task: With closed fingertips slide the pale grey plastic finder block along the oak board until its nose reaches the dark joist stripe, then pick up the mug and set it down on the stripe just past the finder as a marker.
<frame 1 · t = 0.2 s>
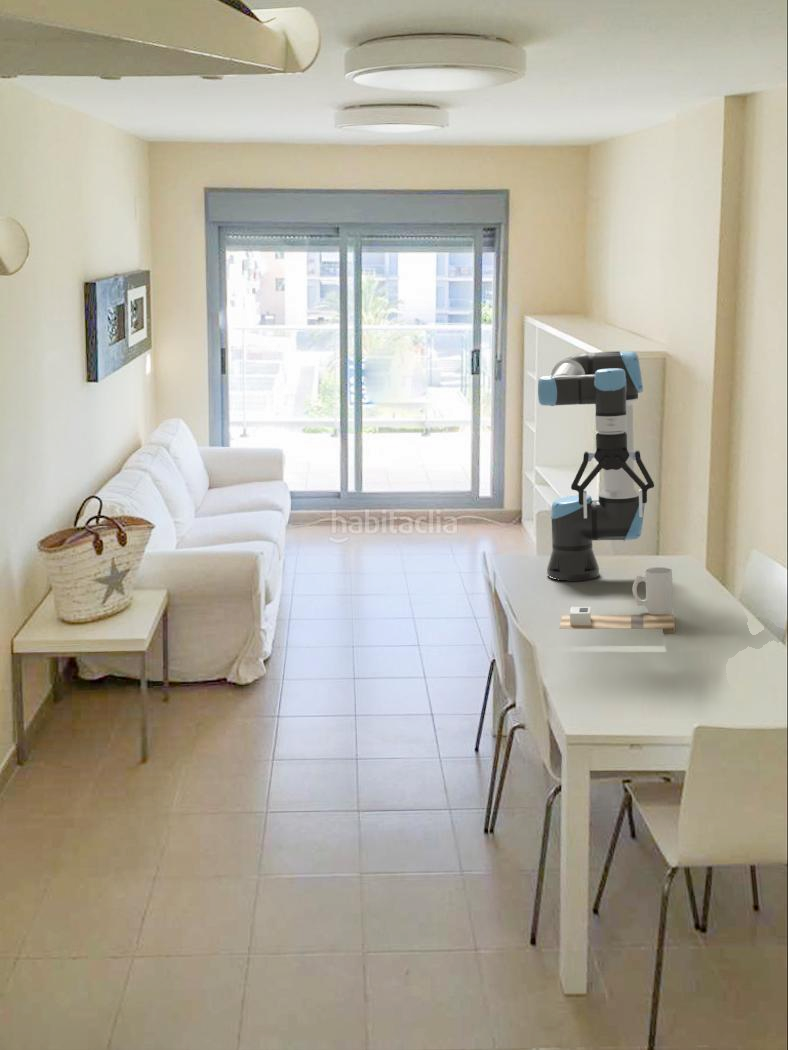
hand: (613, 516, 312), 28 cm above the table, fingers open, 13 cm apart
board: (617, 626, 315), on the table
mug: (652, 616, 322), on the table
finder: (580, 621, 316), point 1 cm above the table, touching board
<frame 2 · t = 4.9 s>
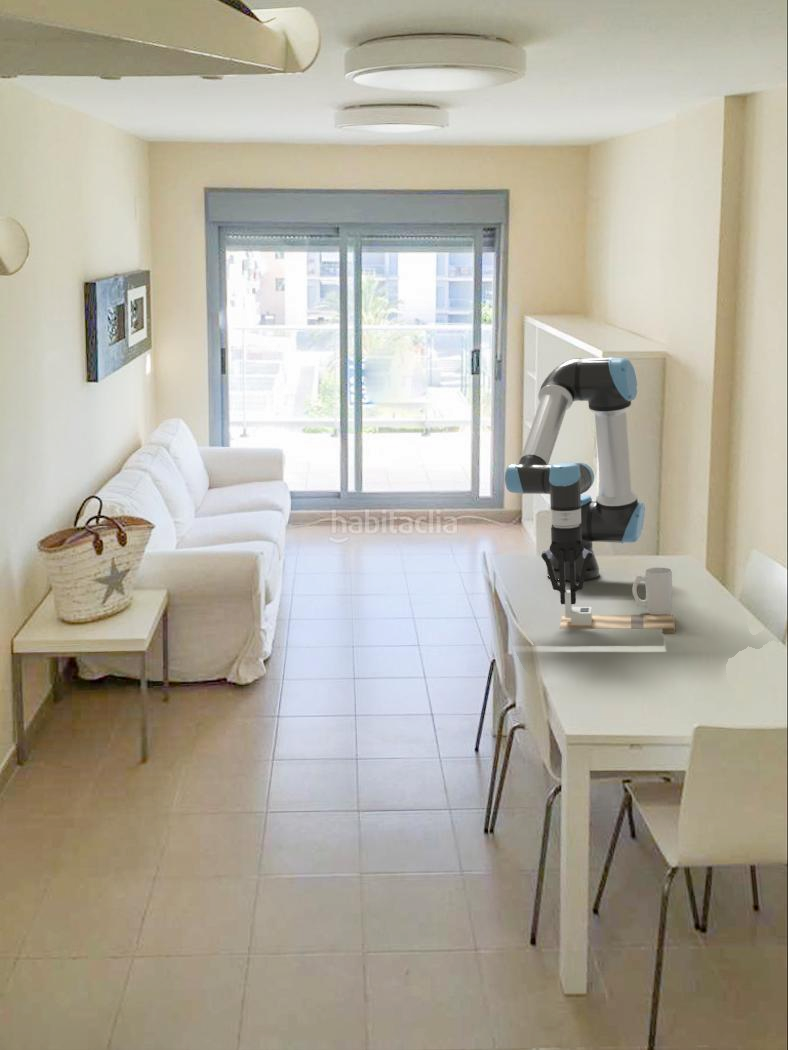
hand: (568, 616, 316), 3 cm above the table, fingers closed
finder: (581, 621, 316), point 1 cm above the table, touching gripper
everything else where it was.
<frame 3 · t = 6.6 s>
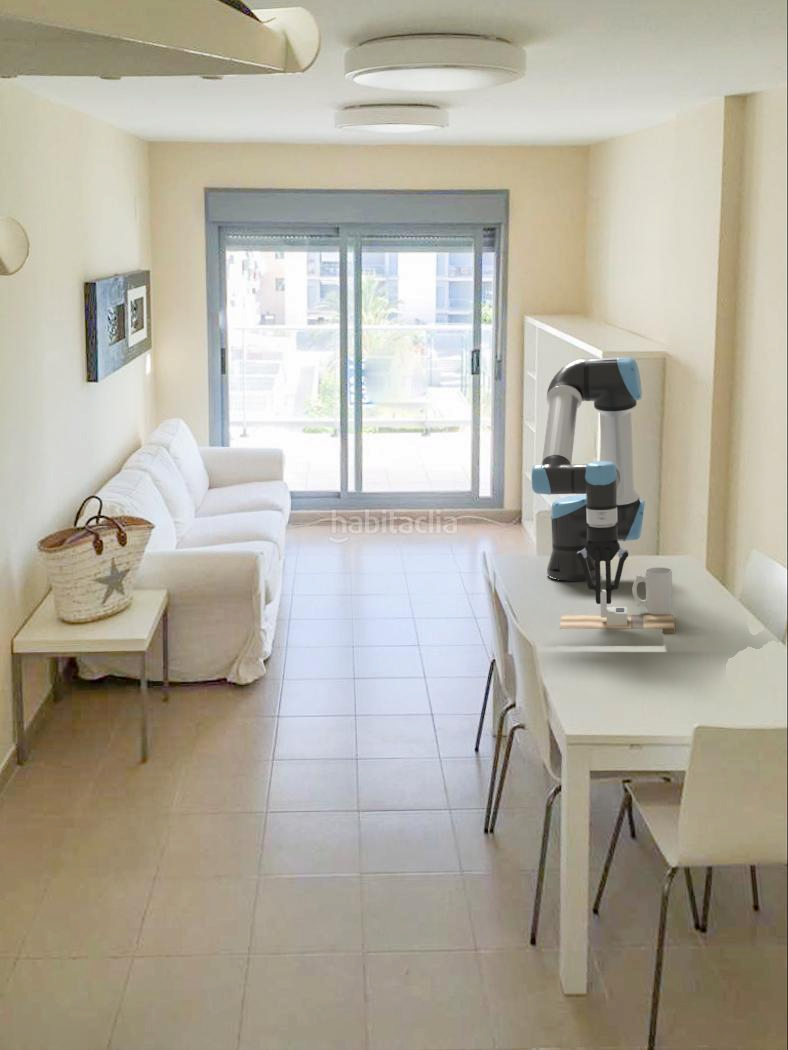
hand: (603, 616, 315), 3 cm above the table, fingers closed
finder: (617, 621, 314), point 1 cm above the table, touching board, gripper
everything else where it was.
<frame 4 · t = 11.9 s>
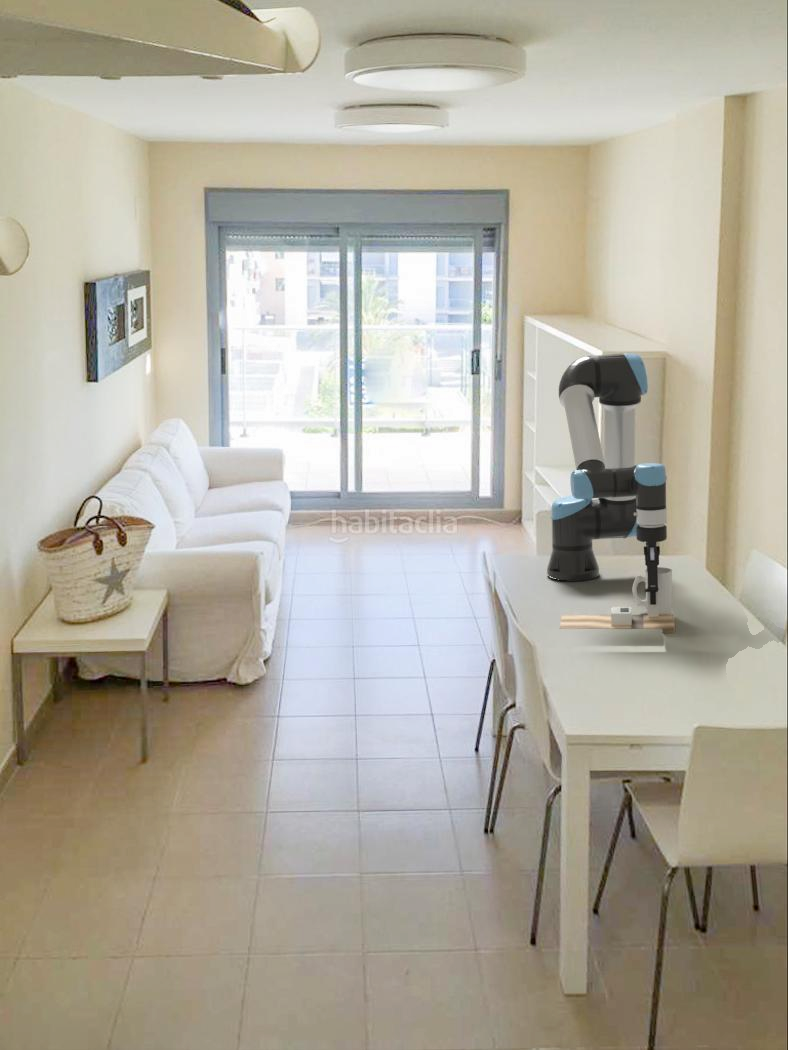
hand: (652, 611, 320), 1 cm above the table, fingers open, 8 cm apart
mug: (652, 616, 322), on the table, touching board, gripper
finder: (621, 621, 314), point 1 cm above the table, touching board
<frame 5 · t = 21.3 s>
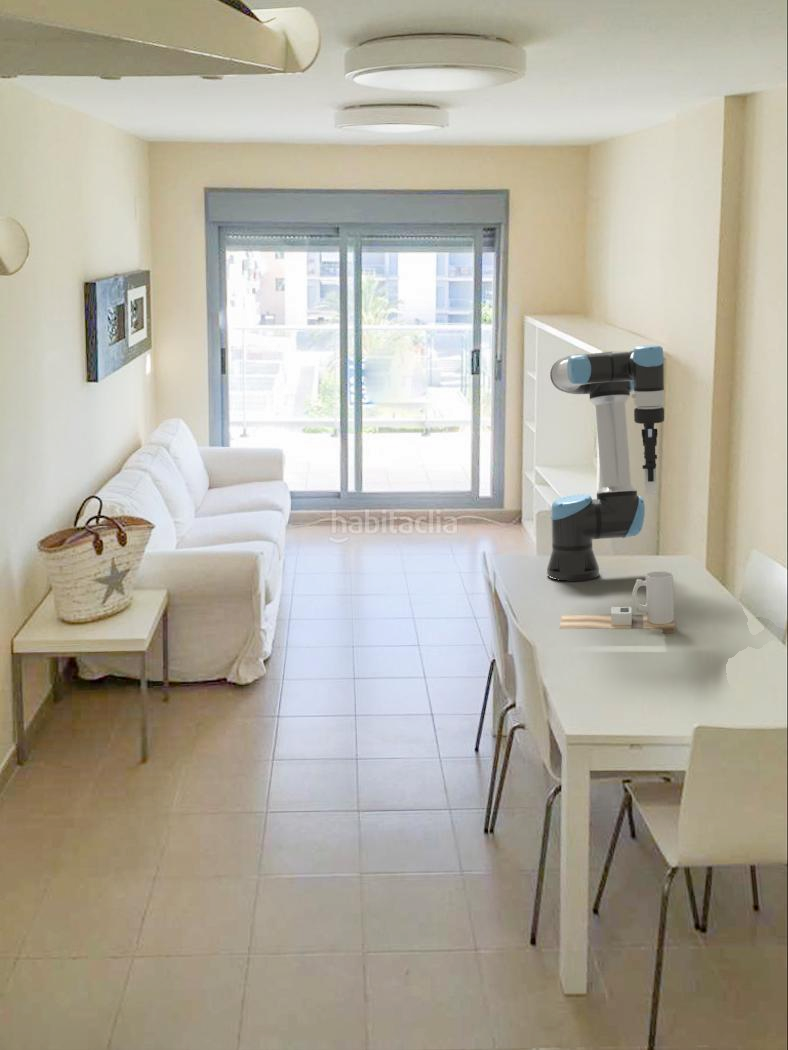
hand: (650, 489, 323), 32 cm above the table, fingers open, 13 cm apart
mug: (653, 622, 313), point 1 cm above the table, touching board
everything else where it was.
at the end: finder inside the target area (0.7 cm from its centre), point 1.2 cm above the table; mug inside the target area (0.1 cm from its centre), point 1.0 cm above the table; mug tilted 0° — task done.
